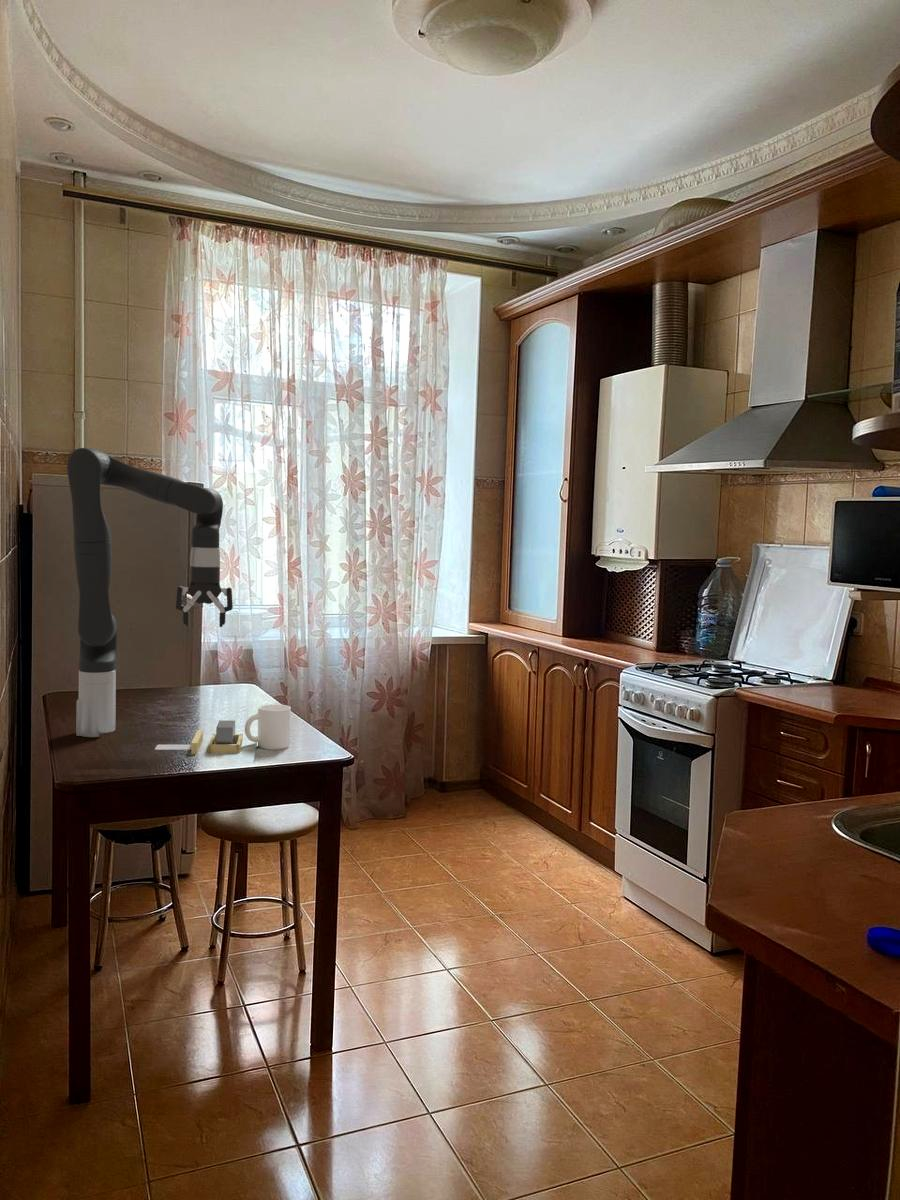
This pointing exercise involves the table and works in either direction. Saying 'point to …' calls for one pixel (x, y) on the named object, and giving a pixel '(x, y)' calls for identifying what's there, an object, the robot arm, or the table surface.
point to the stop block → (225, 732)
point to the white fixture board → (211, 746)
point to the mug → (271, 726)
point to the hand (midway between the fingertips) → (204, 626)
